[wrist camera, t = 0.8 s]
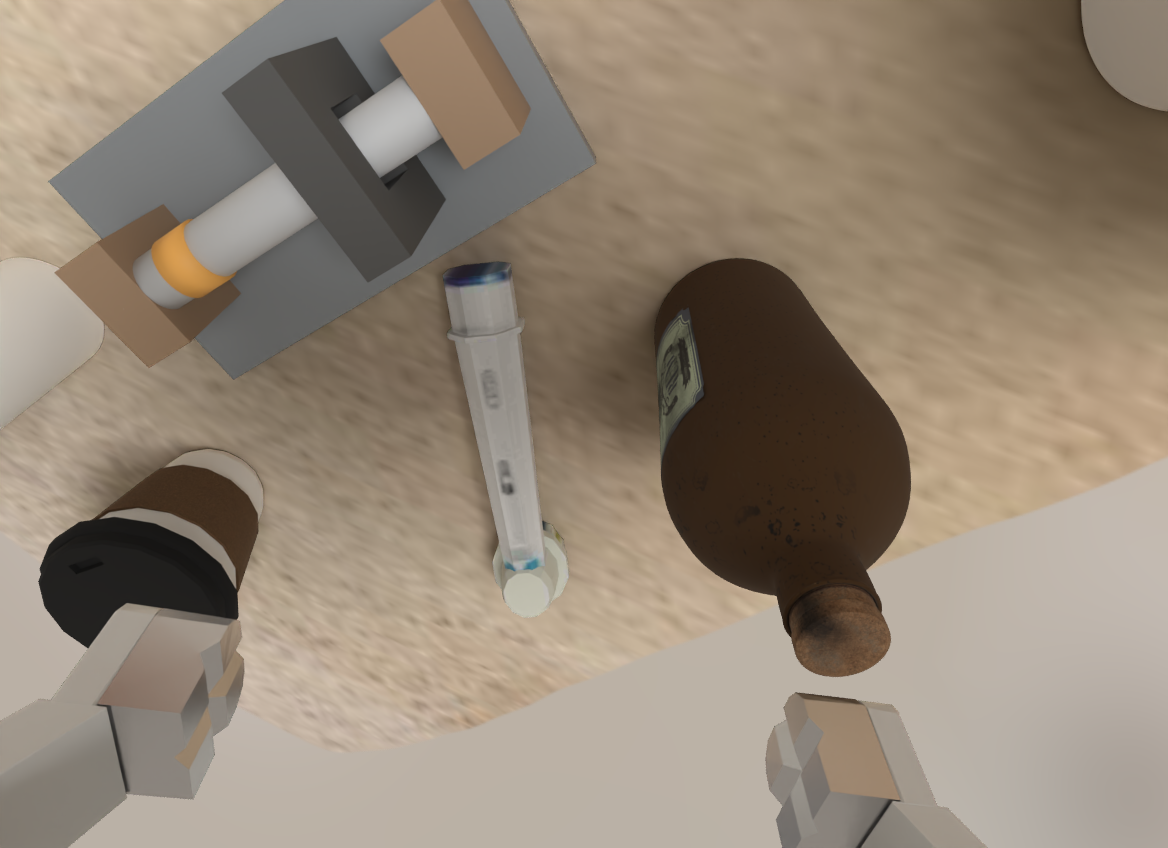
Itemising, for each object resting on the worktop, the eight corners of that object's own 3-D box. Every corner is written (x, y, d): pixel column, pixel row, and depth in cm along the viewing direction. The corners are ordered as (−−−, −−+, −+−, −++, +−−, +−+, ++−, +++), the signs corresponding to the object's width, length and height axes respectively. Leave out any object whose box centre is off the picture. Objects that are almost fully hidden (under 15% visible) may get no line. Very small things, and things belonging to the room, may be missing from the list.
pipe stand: (444, -116, 35) (407, -133, 28) (595, 156, 41) (595, 198, 34) (64, 174, 42) (-41, 218, 35) (243, 368, 48) (183, 437, 41)
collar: (336, 36, 36) (267, 58, 29) (446, 199, 40) (411, 256, 33) (298, 64, 37) (221, 92, 29) (410, 221, 41) (367, 282, 33)
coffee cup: (105, 447, 52) (-16, 568, 42) (237, 396, 49) (144, 511, 39) (204, 560, 57) (118, 691, 47) (327, 518, 55) (266, 647, 45)
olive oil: (835, 252, 44) (1062, 532, 22) (798, 409, 49) (951, 752, 28) (652, 241, 44) (706, 514, 22) (636, 400, 49) (667, 739, 28)
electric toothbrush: (518, 273, 41) (569, 640, 51) (530, 249, 47) (573, 581, 57) (423, 282, 41) (493, 645, 51) (447, 257, 47) (505, 586, 57)
